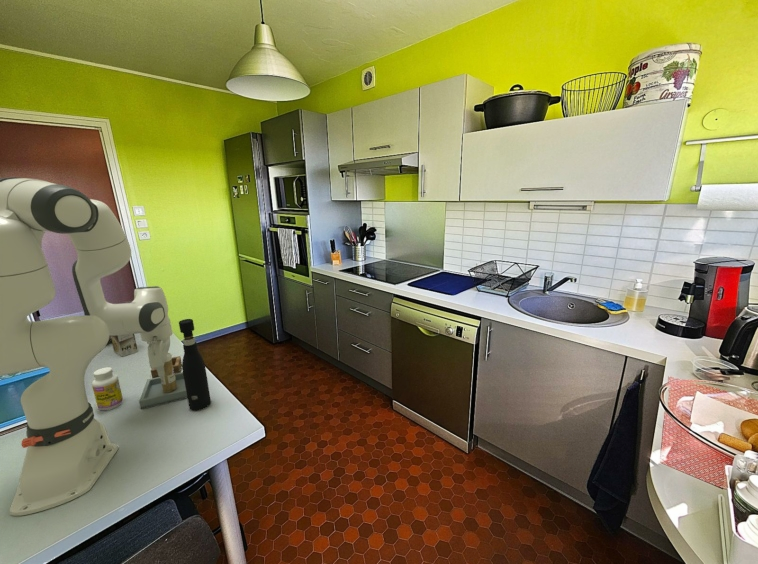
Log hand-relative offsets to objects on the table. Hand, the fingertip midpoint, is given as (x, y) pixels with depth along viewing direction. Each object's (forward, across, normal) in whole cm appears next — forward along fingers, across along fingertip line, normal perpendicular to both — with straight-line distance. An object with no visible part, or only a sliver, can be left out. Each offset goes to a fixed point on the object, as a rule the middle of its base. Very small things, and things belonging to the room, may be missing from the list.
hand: (163, 369), depth 113 cm
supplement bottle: (+9, +1, +16) cm, 19 cm away
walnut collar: (+9, +17, +2) cm, 19 cm away
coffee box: (+8, +48, +21) cm, 53 cm away
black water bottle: (+10, -14, -10) cm, 20 cm away
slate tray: (+9, 0, -1) cm, 9 cm away
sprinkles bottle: (+9, +1, -1) cm, 9 cm away
